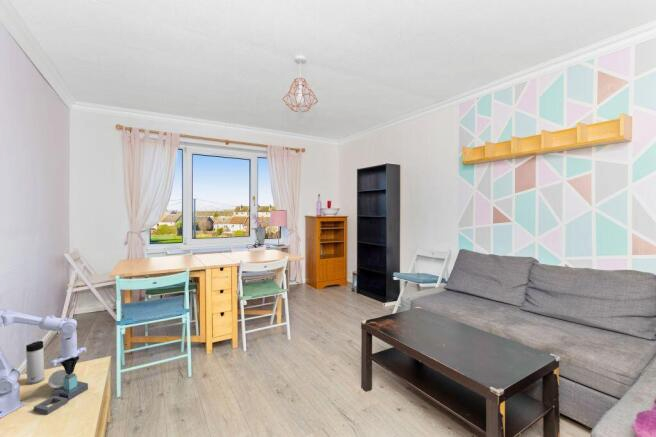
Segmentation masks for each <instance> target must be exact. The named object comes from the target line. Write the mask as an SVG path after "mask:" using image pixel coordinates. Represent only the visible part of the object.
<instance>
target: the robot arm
mask: <svg viewBox="0 0 656 437" xmlns="http://www.w3.org/2000/svg"><path fill="white" fill-rule="evenodd" d="M16 323H17V324H24V325H31V326H32V325H33V326H38V327H39V329H40V330H46V331H52V332H59V333H60V334H61V337H60V347H61V348H60V351H61V354H60V356H58V357H56V358H55V359H53V360H51V361H50V366H51V367H56V366H57V365H59V364H60V365H61V366H62V367H63V370H65V371H66V374H71V373H74V370H75V367H76V366H77V365H76V364H77V363H78V361H79V360H80V356H79V355H80V354H83V353H86V352H87V347H86V346H85V347H84V346H82V347H80V348H78V335H77V325H78V322H77V320H76V319H75V318H72V317H69V318H66V317H64V318H61V317H56V316H55V315H52V314H51V315H47V316H44V317H41V316H35V315H32V314H29V313H28V314H26V313H22V312H18V311H15V310H12V309H7V310H6V309H4V308H0V327H2V325H3V327H7V326H9V325H12V324H16ZM20 377H21V372H20V371H19V370H18V369H16V368H15V367H14V365H11V364H10V363H9V361H8V359H7V357H6V354H4V352H3V349H2V348H1V347H0V419H1V418H3V417H5V416H7V415H8V414H10V413H12V412H14V411H17V410H18V409H20V408H21V407H23V406H26V403H25V402H21V396H20V395H21V393H20V383H19V382H18V380H19V379H20Z"/></svg>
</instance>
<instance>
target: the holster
mask: <svg viewBox="0 0 656 437" xmlns="http://www.w3.org/2000/svg"><path fill="white" fill-rule="evenodd" d="M52 403H54V404H52ZM68 403H69V401H68V398H63V397H59V396H55V395H54V396H52V395H51V397H48V398H47V399H45V400H43V401H41V402H39V403H38V404H35V405H34V406H33V411H34V412H37V413H40V414H45V415H49V414H51V413H53V412H54V411H57V410H58V409H60V408H61V407H63V406H65V405H66V404H68ZM51 404H52V405H51ZM49 405H51V406H49Z"/></svg>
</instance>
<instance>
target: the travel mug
mask: <svg viewBox="0 0 656 437" xmlns="http://www.w3.org/2000/svg"><path fill="white" fill-rule="evenodd" d="M25 350H26V351H25V352H26V353H25V354H26V356H25V357H26V382H27V383H26V384H27V385H36V384H38V383H41V382H43V380H45V354H44V353H45V352H44V351H45V350H44V341H43V340H39V341H34V342H32V343H29V344H27V345H26V348H25Z"/></svg>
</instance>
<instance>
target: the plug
mask: <svg viewBox="0 0 656 437" xmlns="http://www.w3.org/2000/svg"><path fill="white" fill-rule="evenodd" d="M77 381H78V375H77V374H76V373H74V372H73V373H71V374H68V375H66V376H65V378H63V388H64V390H67V391H69V390H71V389H73V388H75V387H77Z"/></svg>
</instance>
